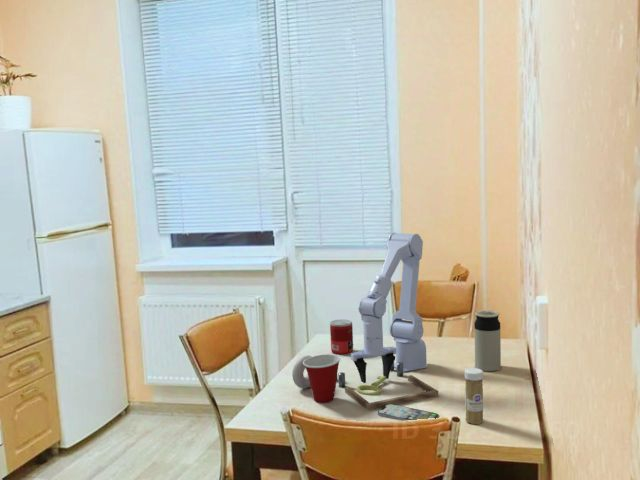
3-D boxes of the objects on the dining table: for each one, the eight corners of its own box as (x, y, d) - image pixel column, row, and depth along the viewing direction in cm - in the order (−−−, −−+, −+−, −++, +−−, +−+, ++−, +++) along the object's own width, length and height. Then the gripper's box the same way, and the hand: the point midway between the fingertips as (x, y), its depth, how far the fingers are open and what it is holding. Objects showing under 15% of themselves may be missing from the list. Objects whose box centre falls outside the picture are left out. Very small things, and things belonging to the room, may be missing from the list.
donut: (298, 393, 180) (296, 361, 179) (290, 391, 183) (288, 358, 182) (322, 384, 187) (320, 352, 186) (314, 382, 190) (313, 350, 189)
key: (387, 382, 188) (386, 375, 188) (378, 397, 176) (378, 389, 176) (364, 380, 190) (364, 373, 190) (354, 395, 178) (354, 388, 178)
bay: (411, 379, 188) (411, 375, 188) (438, 396, 174) (438, 391, 174) (345, 392, 180) (344, 387, 180) (367, 410, 166) (367, 405, 166)
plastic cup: (305, 393, 181) (303, 353, 180) (341, 391, 181) (340, 352, 179) (303, 407, 170) (301, 365, 169) (342, 406, 170) (340, 364, 168)
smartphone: (429, 424, 155) (376, 412, 162) (429, 428, 155) (376, 416, 162) (439, 413, 161) (387, 403, 169) (439, 417, 161) (387, 406, 169)
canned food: (353, 354, 216) (352, 324, 215) (331, 355, 216) (329, 325, 215) (352, 348, 223) (351, 318, 222) (331, 349, 224) (329, 319, 222)
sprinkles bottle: (472, 426, 153) (472, 374, 152) (461, 419, 157) (460, 369, 156) (487, 422, 155) (486, 371, 153) (476, 416, 159) (475, 366, 158)
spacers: (392, 368, 199) (392, 356, 199) (404, 376, 192) (404, 363, 191) (330, 379, 191) (329, 367, 191) (340, 387, 184) (339, 375, 183)
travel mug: (491, 373, 190) (490, 317, 188) (470, 368, 196) (469, 313, 194) (505, 367, 195) (505, 312, 193) (484, 362, 201) (483, 309, 199)
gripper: (388, 330, 191) (389, 372, 193) (346, 336, 186) (347, 379, 188) (399, 335, 185) (400, 378, 186) (355, 342, 180) (357, 386, 181)
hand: (374, 379), depth 187 cm, fingers open, 7 cm apart
